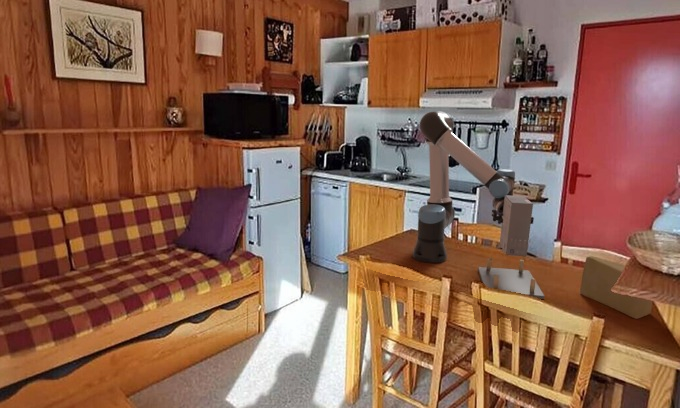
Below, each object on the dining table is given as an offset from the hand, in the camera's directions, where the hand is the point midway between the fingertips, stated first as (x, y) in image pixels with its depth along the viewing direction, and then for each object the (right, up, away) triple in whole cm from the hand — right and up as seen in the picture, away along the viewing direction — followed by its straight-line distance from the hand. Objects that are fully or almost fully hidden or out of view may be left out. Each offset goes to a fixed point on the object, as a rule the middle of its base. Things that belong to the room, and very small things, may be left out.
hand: (517, 224), depth 168 cm
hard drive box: (0, -10, +5) cm, 12 cm away
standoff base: (0, -23, +8) cm, 25 cm away
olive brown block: (+29, -28, -9) cm, 41 cm away
